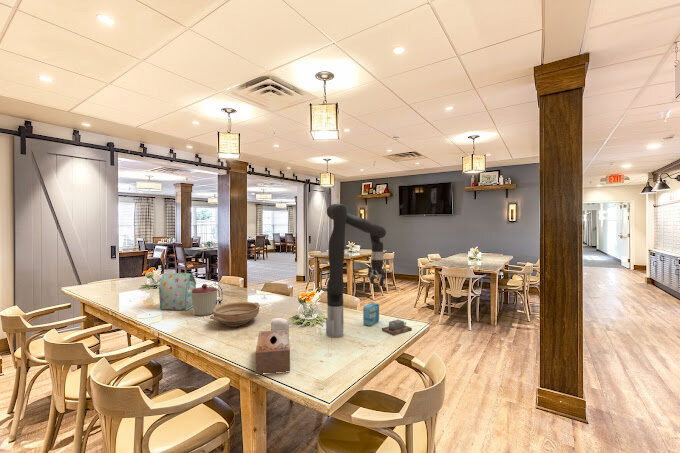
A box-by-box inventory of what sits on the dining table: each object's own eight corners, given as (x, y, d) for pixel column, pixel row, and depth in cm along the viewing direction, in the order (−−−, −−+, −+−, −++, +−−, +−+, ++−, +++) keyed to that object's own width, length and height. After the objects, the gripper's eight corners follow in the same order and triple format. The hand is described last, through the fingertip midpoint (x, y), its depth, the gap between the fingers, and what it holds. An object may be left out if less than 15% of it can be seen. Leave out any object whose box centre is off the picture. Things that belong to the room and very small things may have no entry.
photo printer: (290, 340, 171) (290, 318, 171) (286, 343, 167) (286, 320, 167) (273, 338, 174) (273, 316, 174) (269, 341, 170) (269, 318, 170)
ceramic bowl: (228, 336, 177) (228, 318, 177) (196, 327, 192) (196, 311, 191) (273, 318, 210) (273, 303, 209) (242, 312, 224) (242, 298, 224)
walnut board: (393, 335, 178) (393, 332, 178) (381, 330, 186) (381, 327, 186) (411, 330, 187) (411, 327, 187) (399, 325, 195) (399, 323, 195)
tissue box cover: (289, 372, 135) (289, 349, 135) (255, 375, 132) (255, 352, 132) (288, 348, 160) (288, 329, 160) (259, 351, 158) (259, 331, 158)
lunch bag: (198, 305, 243) (198, 271, 242) (186, 311, 226) (185, 274, 226) (170, 304, 245) (170, 270, 245) (156, 310, 229) (156, 274, 228)
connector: (401, 324, 192) (401, 318, 192) (407, 326, 188) (407, 320, 188) (387, 328, 185) (387, 322, 185) (392, 331, 181) (392, 324, 181)
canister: (212, 317, 212) (211, 286, 212) (185, 317, 212) (185, 286, 212) (222, 310, 230) (222, 281, 230) (198, 310, 230) (197, 281, 230)
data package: (369, 326, 194) (369, 307, 193) (363, 325, 196) (363, 306, 196) (379, 321, 203) (379, 303, 203) (373, 320, 206) (373, 302, 206)
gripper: (389, 259, 189) (389, 286, 190) (374, 257, 201) (373, 282, 201) (380, 260, 185) (379, 287, 185) (365, 257, 197) (364, 283, 197)
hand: (376, 284), depth 193 cm, fingers open, 8 cm apart
